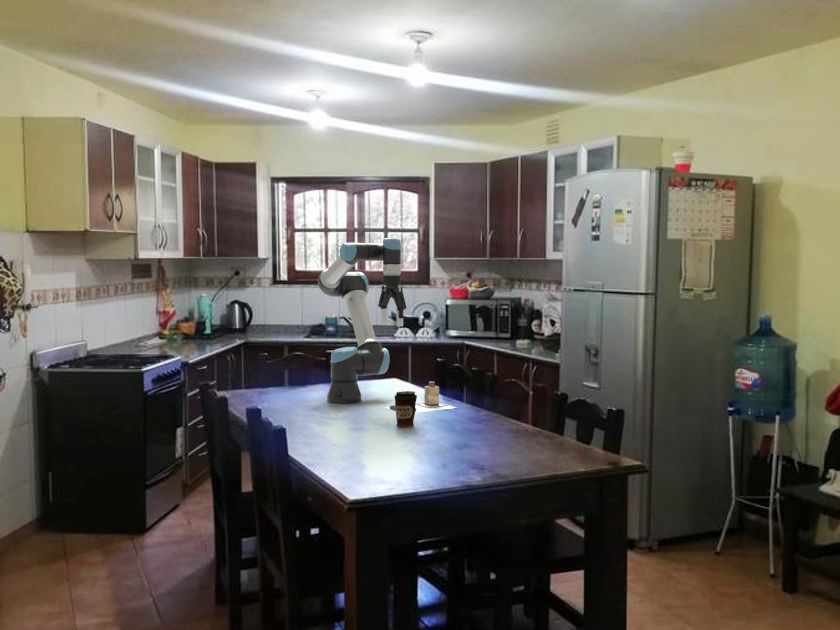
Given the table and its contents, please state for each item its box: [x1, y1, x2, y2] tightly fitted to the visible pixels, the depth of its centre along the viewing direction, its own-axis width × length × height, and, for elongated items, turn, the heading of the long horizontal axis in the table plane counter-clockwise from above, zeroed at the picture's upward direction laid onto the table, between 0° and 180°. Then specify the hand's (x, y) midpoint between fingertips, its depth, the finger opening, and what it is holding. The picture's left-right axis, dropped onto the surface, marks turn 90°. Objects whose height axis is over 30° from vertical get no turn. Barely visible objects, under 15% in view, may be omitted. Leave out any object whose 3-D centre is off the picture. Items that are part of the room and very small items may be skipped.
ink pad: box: [389, 404, 416, 412], centre depth 316 cm, size 10×7×2 cm
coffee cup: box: [394, 390, 418, 428], centre depth 286 cm, size 9×8×13 cm
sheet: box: [383, 402, 457, 414], centre depth 322 cm, size 17×26×1 cm, turn 121°
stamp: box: [424, 381, 440, 406], centre depth 327 cm, size 4×4×10 cm
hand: (391, 325), depth 324 cm, fingers open, 13 cm apart
